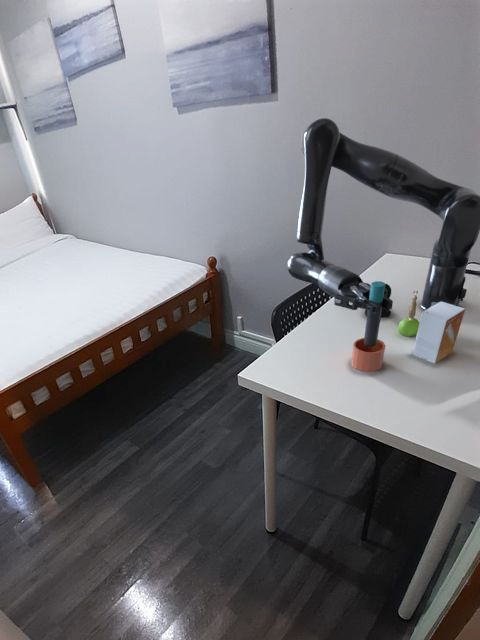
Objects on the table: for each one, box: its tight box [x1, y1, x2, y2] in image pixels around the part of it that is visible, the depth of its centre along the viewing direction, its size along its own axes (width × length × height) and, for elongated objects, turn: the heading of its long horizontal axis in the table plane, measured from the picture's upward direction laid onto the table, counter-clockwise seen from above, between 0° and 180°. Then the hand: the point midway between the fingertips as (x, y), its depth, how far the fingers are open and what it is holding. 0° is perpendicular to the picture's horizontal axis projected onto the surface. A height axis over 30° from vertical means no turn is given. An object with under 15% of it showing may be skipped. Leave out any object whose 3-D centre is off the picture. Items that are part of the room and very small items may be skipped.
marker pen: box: [363, 281, 386, 347], centre depth 97 cm, size 3×3×16 cm
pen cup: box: [350, 337, 386, 373], centre depth 104 cm, size 7×7×6 cm
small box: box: [412, 302, 466, 364], centre depth 102 cm, size 8×6×13 cm
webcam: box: [364, 283, 392, 319], centre depth 123 cm, size 8×8×10 cm
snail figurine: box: [397, 290, 420, 338], centre depth 111 cm, size 5×6×12 cm
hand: (384, 307), depth 93 cm, fingers closed on marker pen, 3 cm apart
